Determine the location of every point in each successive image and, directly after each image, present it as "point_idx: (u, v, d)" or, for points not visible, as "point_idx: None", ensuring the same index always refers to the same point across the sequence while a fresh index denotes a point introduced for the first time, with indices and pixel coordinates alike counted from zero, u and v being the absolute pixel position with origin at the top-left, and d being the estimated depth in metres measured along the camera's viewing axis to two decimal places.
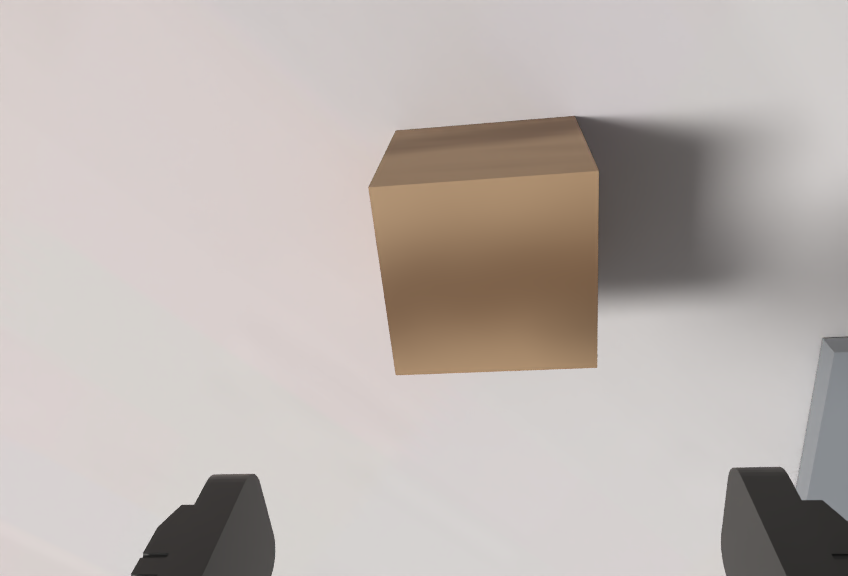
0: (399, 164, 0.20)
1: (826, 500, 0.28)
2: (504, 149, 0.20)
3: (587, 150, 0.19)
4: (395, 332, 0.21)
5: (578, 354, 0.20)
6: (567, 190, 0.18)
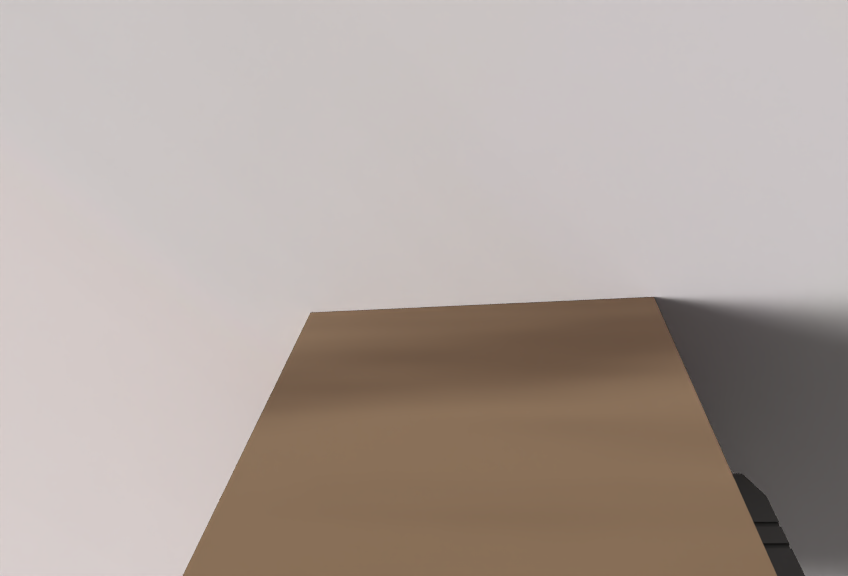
0: (281, 466, 0.09)
1: None
2: (519, 426, 0.09)
3: (720, 459, 0.08)
4: None
5: None
6: None
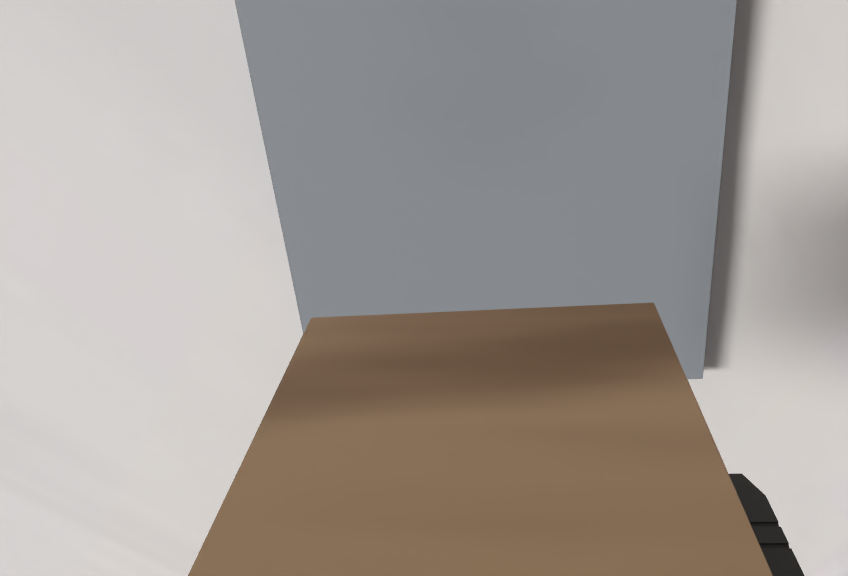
0: (281, 472, 0.09)
1: (294, 192, 0.26)
2: (520, 432, 0.09)
3: (719, 466, 0.08)
4: None
5: None
6: None
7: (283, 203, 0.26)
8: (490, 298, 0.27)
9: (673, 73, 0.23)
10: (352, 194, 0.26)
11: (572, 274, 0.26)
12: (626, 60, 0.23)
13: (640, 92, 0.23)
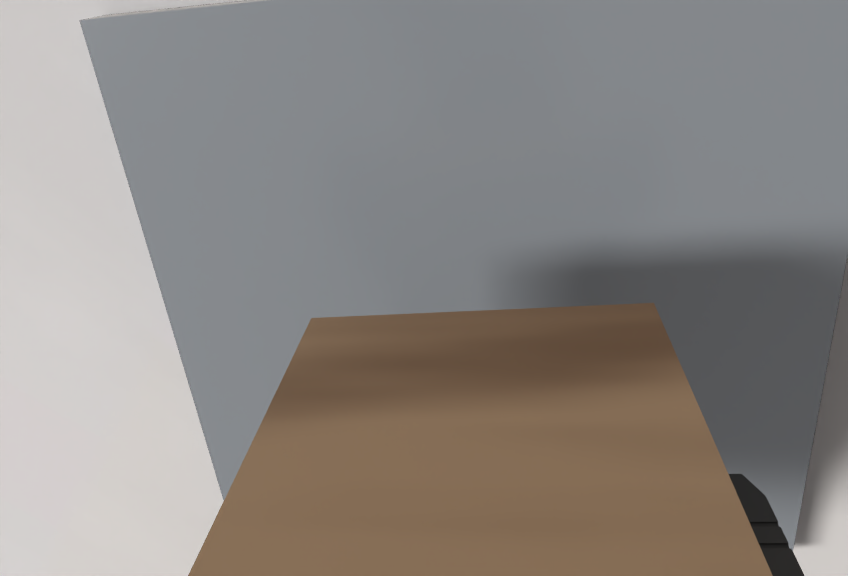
0: (281, 473, 0.09)
1: (197, 315, 0.18)
2: (519, 433, 0.09)
3: (719, 467, 0.08)
4: None
5: None
6: None
7: (182, 329, 0.18)
8: None
9: (775, 153, 0.14)
10: (282, 318, 0.17)
11: None
12: (701, 133, 0.14)
13: (721, 180, 0.15)
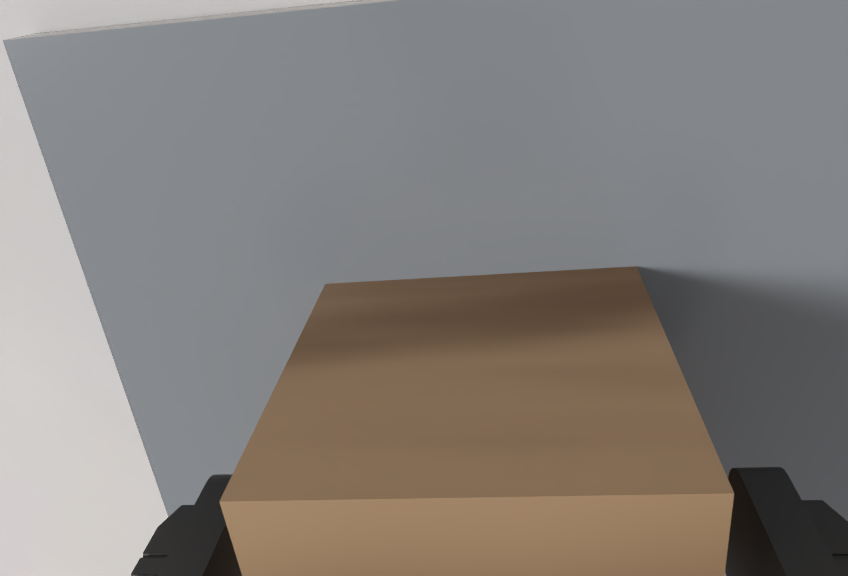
0: (304, 406, 0.10)
1: (153, 375, 0.15)
2: (513, 371, 0.10)
3: (686, 394, 0.09)
4: None
5: None
6: (659, 526, 0.08)
7: (136, 391, 0.15)
8: None
9: (828, 200, 0.12)
10: (250, 380, 0.15)
11: None
12: (740, 175, 0.12)
13: (763, 230, 0.13)
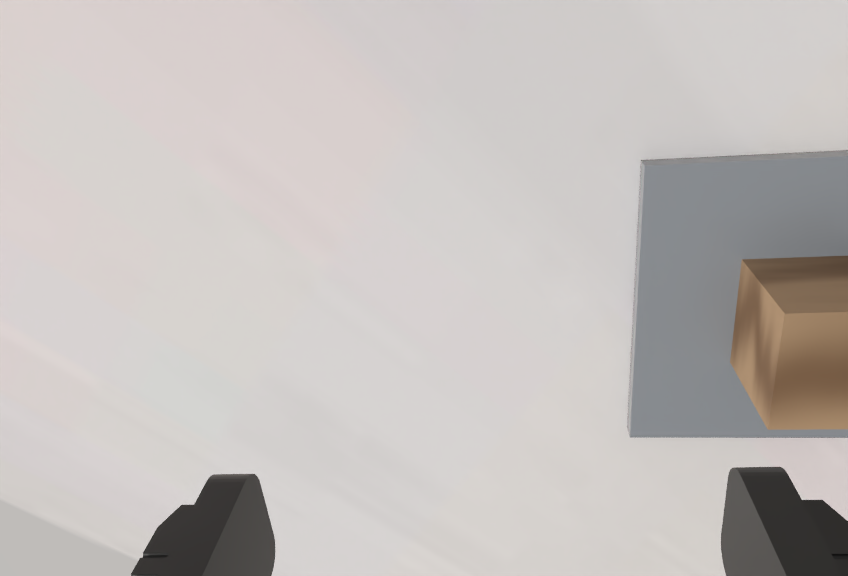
0: (783, 294, 0.31)
1: (652, 297, 0.36)
2: None
3: None
4: (775, 402, 0.31)
5: None
6: None
7: (642, 304, 0.37)
8: None
9: None
10: (695, 300, 0.36)
11: None
12: None
13: None
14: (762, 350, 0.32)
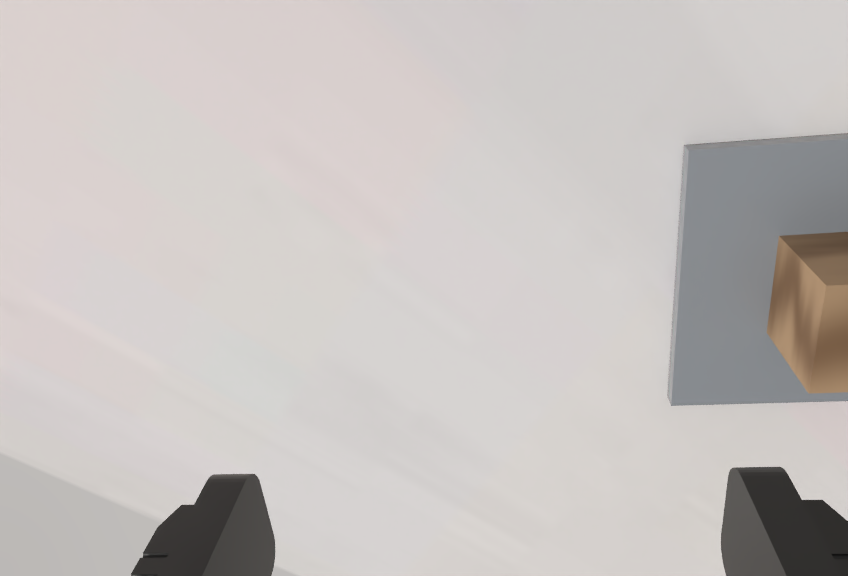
0: (823, 267, 0.34)
1: (694, 273, 0.39)
2: None
3: None
4: (816, 368, 0.34)
5: None
6: None
7: (684, 280, 0.39)
8: None
9: None
10: (734, 275, 0.39)
11: None
12: None
13: None
14: (802, 320, 0.35)
